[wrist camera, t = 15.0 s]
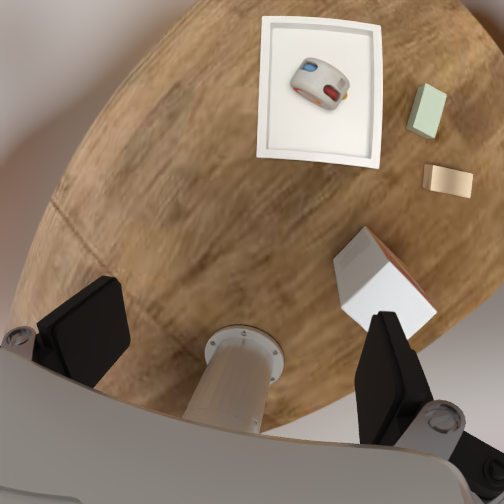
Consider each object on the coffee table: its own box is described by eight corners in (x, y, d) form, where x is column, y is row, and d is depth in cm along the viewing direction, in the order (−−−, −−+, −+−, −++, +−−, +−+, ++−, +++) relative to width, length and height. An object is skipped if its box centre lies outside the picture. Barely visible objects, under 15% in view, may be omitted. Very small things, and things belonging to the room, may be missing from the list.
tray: (374, 167, 33) (378, 168, 31) (260, 156, 35) (256, 157, 33) (376, 32, 27) (380, 25, 25) (265, 23, 29) (262, 16, 27)
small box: (405, 263, 36) (439, 312, 24) (372, 296, 39) (392, 354, 27) (364, 223, 36) (389, 259, 24) (331, 258, 38) (338, 309, 26)
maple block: (462, 171, 31) (473, 174, 28) (459, 194, 32) (470, 198, 29) (424, 163, 32) (433, 165, 29) (421, 186, 33) (430, 190, 30)
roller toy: (306, 60, 30) (305, 45, 25) (352, 88, 30) (360, 76, 25) (287, 89, 32) (283, 78, 26) (334, 116, 32) (339, 110, 26)
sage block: (425, 138, 31) (434, 138, 28) (405, 128, 31) (412, 126, 28) (437, 98, 29) (446, 94, 26) (417, 87, 29) (425, 83, 26)
